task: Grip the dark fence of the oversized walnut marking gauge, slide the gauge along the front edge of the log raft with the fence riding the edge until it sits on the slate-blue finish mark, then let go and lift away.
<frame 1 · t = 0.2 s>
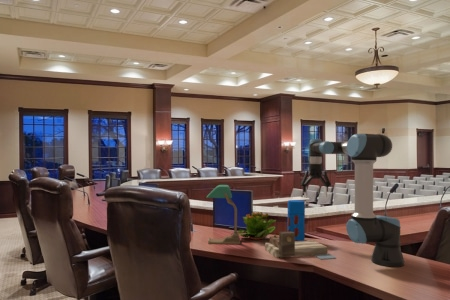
hand: (315, 197, 224), 28 cm above the table, tool pointing down, fingers open, 13 cm apart
log raft: (295, 252, 197), on the table
banker's lamp: (223, 242, 219), on the table
potted flower: (257, 238, 232), on the table
marking gauge: (284, 249, 187), point 4 cm above the table, touching log raft
blue slotted block: (296, 240, 226), on the table
finish mark: (324, 257, 188), on the table
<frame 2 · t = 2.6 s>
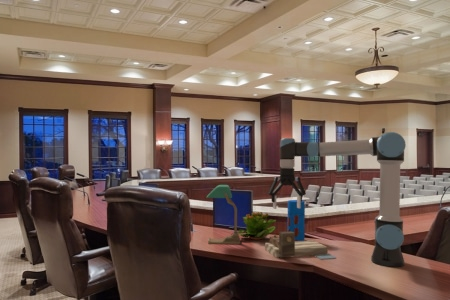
hand: (286, 208, 185), 26 cm above the table, tool pointing down, fingers open, 13 cm apart
nothing on the table moved.
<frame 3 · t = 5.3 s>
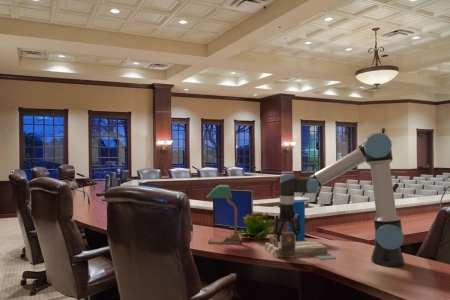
hand: (286, 247, 184), 6 cm above the table, tool pointing down, fingers closed on marking gauge, 7 cm apart
marking gauge: (284, 249, 187), point 4 cm above the table, touching log raft, gripper
everything else where it was.
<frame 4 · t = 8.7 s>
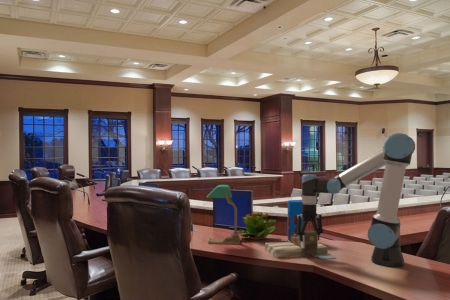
hand: (309, 247, 187), 5 cm above the table, tool pointing down, fingers closed on marking gauge, 7 cm apart
marking gauge: (307, 248, 190), point 4 cm above the table, touching gripper
everything else where it was.
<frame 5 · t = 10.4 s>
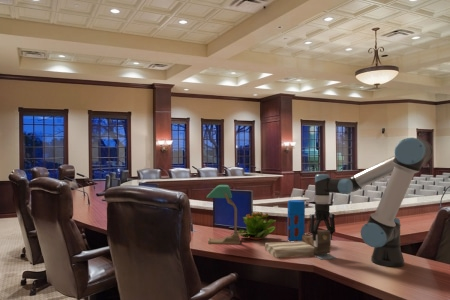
hand: (322, 246, 189), 5 cm above the table, tool pointing down, fingers closed on marking gauge, 7 cm apart
marking gauge: (319, 247, 192), point 4 cm above the table, touching gripper
everything else where it was.
when the fingers open (6 cm above the table, at t = 12.1 s): marking gauge stays where it is, resting on log raft.
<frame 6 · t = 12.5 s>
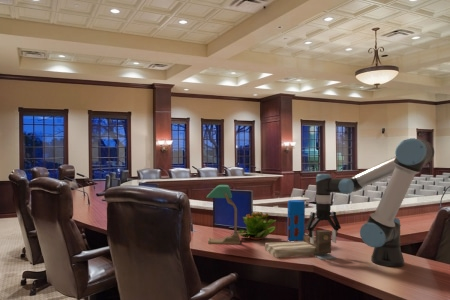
hand: (323, 242, 190), 7 cm above the table, tool pointing down, fingers open, 12 cm apart
marking gauge: (320, 247, 192), point 4 cm above the table, touching log raft
everything else where it was.
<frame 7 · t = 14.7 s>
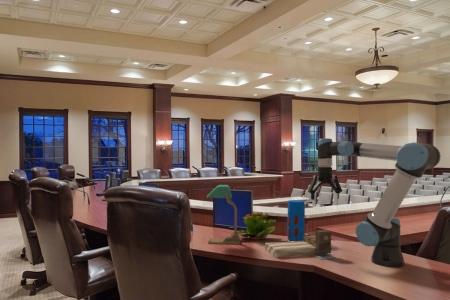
hand: (325, 205, 194), 27 cm above the table, tool pointing down, fingers open, 13 cm apart
nothing on the table moved.
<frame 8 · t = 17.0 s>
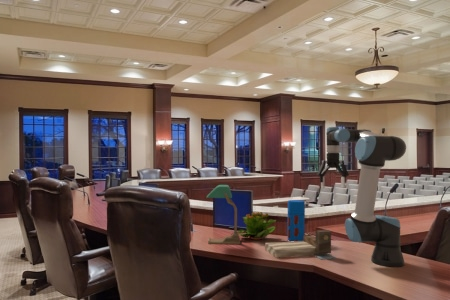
hand: (332, 187, 215), 35 cm above the table, tool pointing down, fingers open, 13 cm apart
nothing on the table moved.
at the end: marking gauge 0.0 cm from the target spot, point 4.0 cm above the table; marking gauge tilted 0°; the gripper is holding nothing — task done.
